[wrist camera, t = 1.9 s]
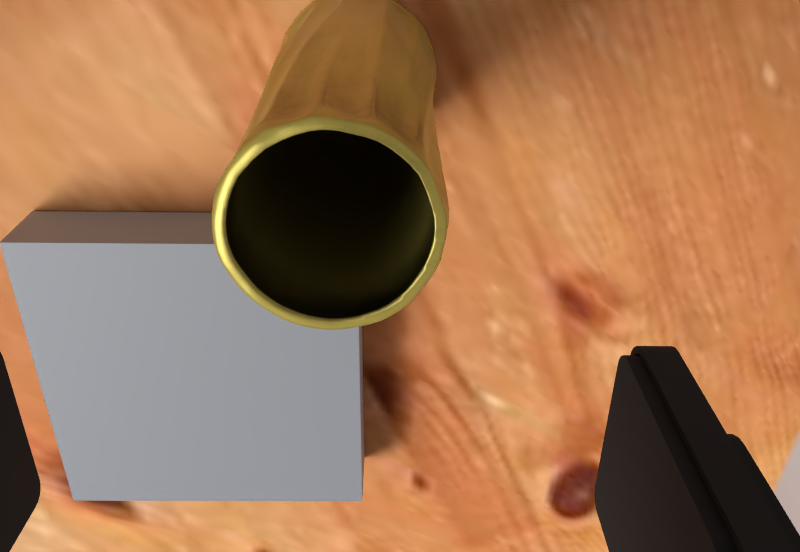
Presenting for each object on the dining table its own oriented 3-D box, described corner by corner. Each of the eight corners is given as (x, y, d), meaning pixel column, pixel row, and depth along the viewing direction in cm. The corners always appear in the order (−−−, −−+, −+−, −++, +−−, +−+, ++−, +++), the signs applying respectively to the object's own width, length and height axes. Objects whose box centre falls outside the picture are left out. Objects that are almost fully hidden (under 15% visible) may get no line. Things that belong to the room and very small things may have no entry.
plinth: (32, 210, 31) (-1, 242, 29) (360, 213, 31) (357, 245, 29) (95, 456, 38) (73, 500, 35) (364, 457, 38) (362, 501, 36)
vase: (455, 12, 27) (505, 134, 15) (413, 162, 30) (427, 370, 18) (294, -31, 27) (206, 61, 14) (267, 128, 30) (175, 319, 17)
